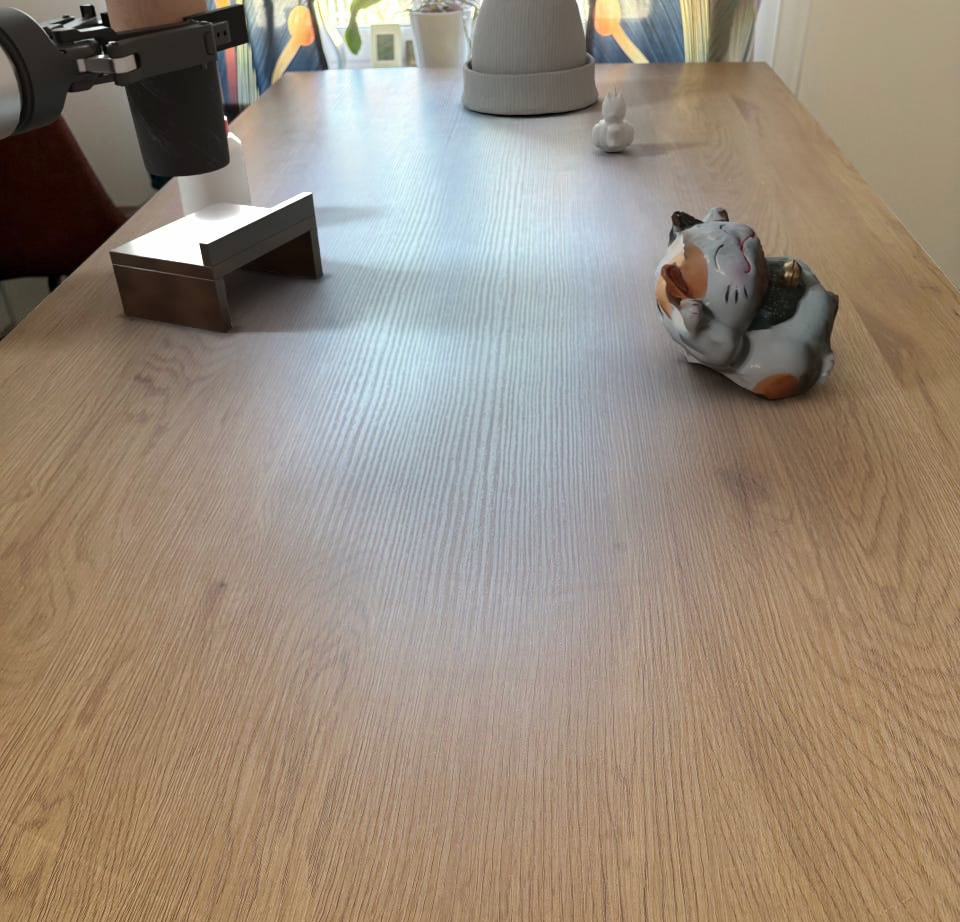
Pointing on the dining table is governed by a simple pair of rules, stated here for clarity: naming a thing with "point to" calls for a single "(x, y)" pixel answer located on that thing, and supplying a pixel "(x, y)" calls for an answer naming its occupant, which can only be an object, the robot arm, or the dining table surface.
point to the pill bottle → (217, 182)
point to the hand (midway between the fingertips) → (201, 21)
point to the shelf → (213, 259)
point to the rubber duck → (613, 125)
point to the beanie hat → (529, 59)
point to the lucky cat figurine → (744, 307)
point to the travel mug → (174, 99)
